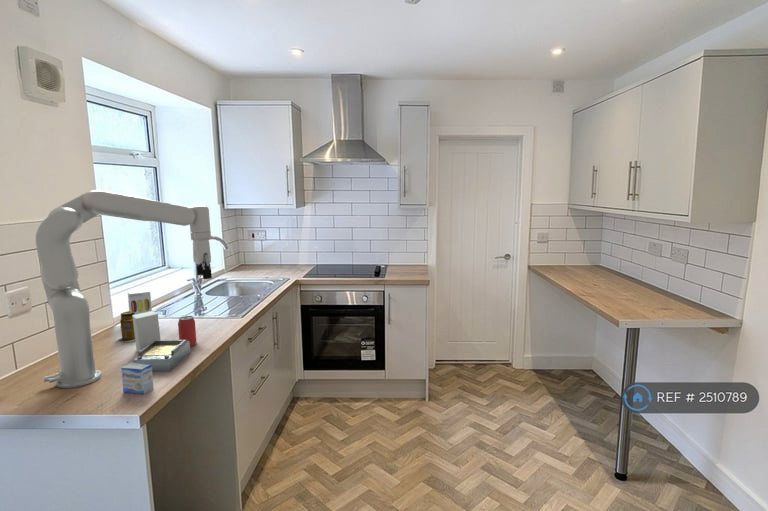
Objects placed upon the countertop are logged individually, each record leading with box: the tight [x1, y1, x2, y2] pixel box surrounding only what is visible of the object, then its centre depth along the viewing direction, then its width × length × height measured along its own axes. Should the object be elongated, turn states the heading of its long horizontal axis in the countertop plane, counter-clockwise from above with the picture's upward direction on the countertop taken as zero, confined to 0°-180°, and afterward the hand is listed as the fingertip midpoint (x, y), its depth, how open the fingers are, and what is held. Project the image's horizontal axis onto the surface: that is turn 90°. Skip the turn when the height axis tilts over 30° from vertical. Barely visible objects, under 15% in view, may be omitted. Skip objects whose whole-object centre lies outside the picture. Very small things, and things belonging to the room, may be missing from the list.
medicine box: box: [120, 362, 154, 395], centre depth 132 cm, size 8×4×9 cm, turn 80°
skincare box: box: [132, 310, 162, 353], centre depth 166 cm, size 8×7×16 cm
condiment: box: [114, 310, 135, 343], centre depth 179 cm, size 7×8×12 cm
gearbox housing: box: [133, 339, 191, 373], centre depth 155 cm, size 18×12×7 cm
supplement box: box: [127, 288, 153, 315], centre depth 201 cm, size 10×9×17 cm
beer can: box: [177, 315, 198, 347], centre depth 173 cm, size 7×7×12 cm
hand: (204, 276), depth 167 cm, fingers open, 9 cm apart
